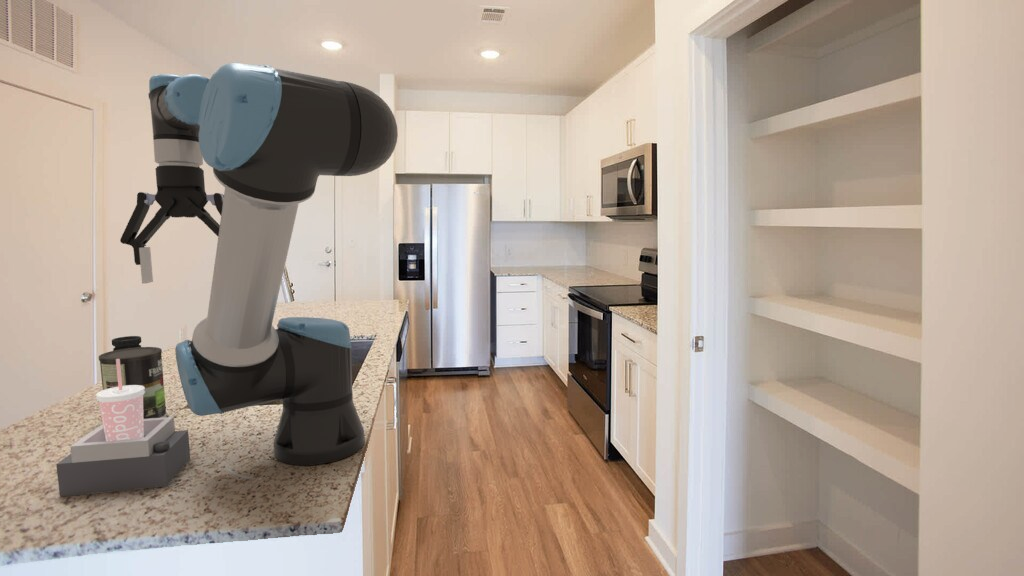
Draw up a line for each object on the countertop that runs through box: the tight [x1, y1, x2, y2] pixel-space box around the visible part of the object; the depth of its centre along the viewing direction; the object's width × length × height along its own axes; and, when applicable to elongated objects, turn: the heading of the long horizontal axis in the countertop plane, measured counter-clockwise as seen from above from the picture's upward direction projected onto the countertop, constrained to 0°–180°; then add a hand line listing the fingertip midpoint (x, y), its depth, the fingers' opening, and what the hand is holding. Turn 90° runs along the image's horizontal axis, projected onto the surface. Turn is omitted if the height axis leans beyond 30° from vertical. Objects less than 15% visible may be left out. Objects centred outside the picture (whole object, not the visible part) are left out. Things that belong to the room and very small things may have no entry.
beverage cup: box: [95, 359, 145, 441], centre depth 83 cm, size 6×6×14 cm
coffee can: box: [98, 346, 168, 419], centre depth 108 cm, size 10×10×14 cm
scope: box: [111, 335, 142, 351], centre depth 121 cm, size 8×14×10 cm
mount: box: [55, 416, 191, 498], centre depth 84 cm, size 14×10×8 cm
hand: (188, 282), depth 101 cm, fingers open, 13 cm apart
